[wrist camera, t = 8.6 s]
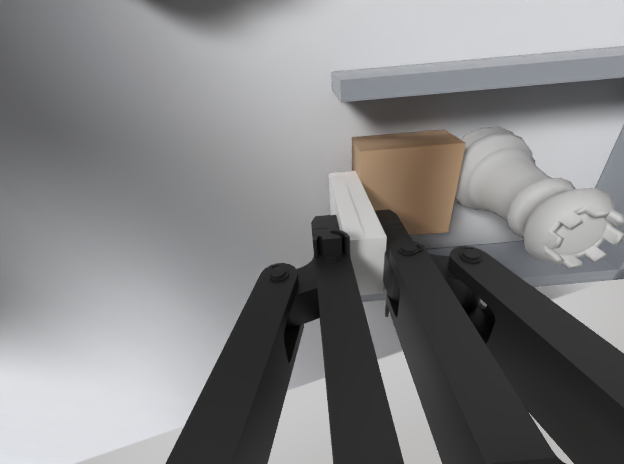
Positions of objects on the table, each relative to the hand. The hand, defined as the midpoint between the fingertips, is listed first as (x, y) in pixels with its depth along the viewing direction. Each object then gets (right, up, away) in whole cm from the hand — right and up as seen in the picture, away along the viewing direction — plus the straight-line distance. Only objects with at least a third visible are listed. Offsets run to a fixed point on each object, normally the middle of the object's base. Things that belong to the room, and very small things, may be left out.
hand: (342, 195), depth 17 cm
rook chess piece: (+8, +2, +1) cm, 8 cm away
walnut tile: (+3, +1, +1) cm, 3 cm away
